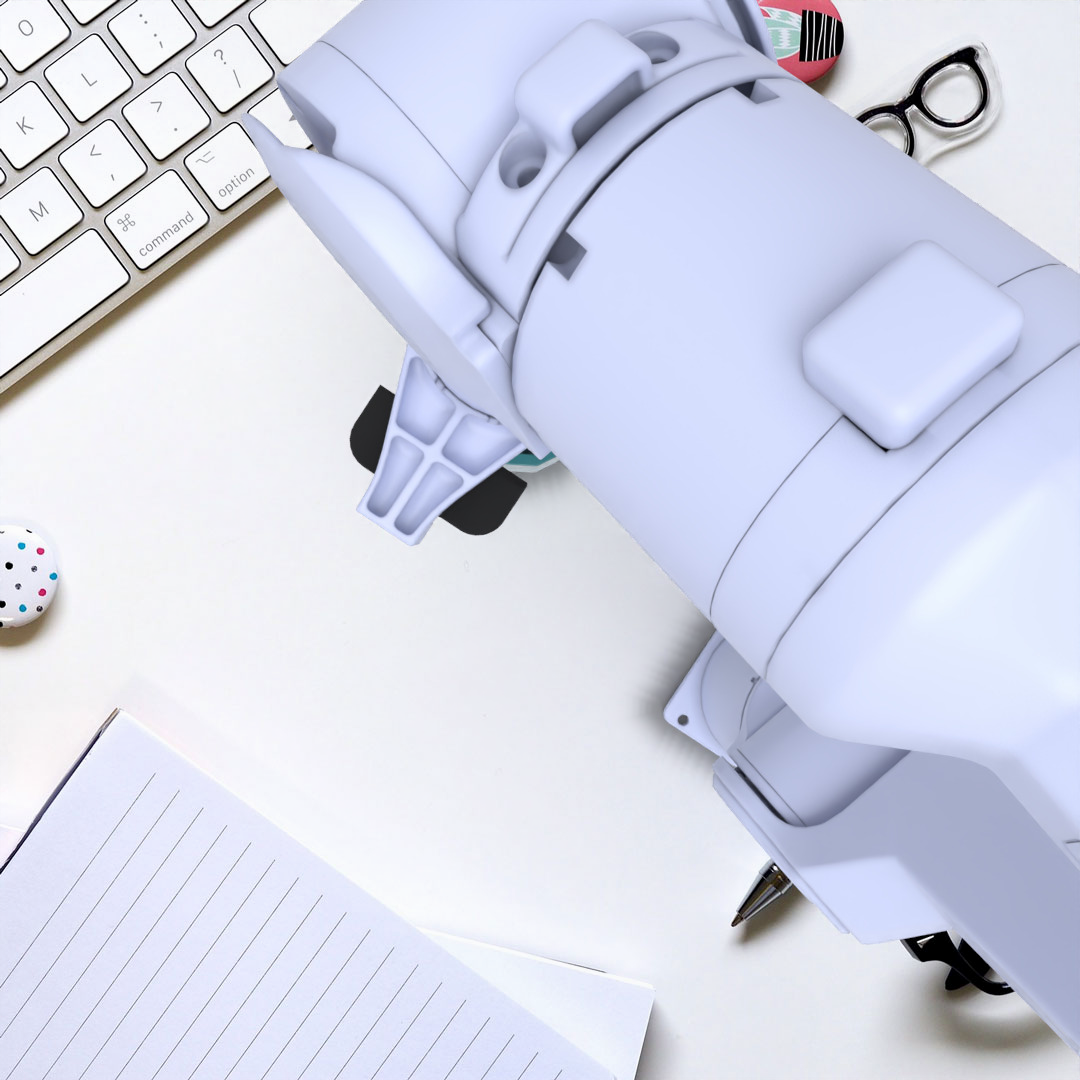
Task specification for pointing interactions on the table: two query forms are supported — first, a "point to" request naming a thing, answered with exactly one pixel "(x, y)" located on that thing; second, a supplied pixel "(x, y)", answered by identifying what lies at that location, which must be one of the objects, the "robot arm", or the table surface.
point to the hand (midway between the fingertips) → (519, 370)
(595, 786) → the table surface
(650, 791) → the table surface
